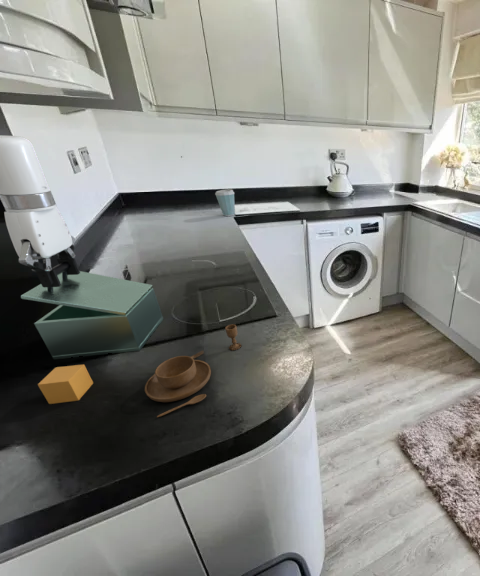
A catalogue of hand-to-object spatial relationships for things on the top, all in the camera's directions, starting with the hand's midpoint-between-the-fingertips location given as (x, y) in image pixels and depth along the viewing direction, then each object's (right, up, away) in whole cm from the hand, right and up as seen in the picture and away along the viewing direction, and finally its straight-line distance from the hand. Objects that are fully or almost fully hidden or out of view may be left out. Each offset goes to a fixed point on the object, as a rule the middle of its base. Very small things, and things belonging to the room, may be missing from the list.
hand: (62, 279), depth 74 cm
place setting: (+35, -21, -4) cm, 41 cm away
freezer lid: (+5, -3, +3) cm, 7 cm away
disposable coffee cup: (-22, +43, +126) cm, 135 cm away
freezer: (+5, -15, +8) cm, 18 cm away
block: (+11, -23, -9) cm, 27 cm away
